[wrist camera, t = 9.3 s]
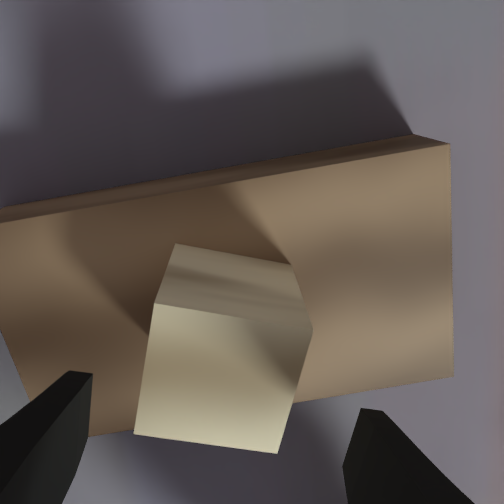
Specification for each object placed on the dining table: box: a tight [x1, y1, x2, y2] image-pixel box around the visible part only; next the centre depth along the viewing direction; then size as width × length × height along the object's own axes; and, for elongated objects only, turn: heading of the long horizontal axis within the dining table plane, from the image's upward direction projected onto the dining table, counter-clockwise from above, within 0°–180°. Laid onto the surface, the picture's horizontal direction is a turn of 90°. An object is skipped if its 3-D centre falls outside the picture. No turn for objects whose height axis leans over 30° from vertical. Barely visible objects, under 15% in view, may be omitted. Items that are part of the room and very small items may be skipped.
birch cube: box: [134, 243, 314, 454], centre depth 16 cm, size 4×4×5 cm
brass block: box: [0, 134, 454, 437], centre depth 20 cm, size 10×18×4 cm, turn 100°
